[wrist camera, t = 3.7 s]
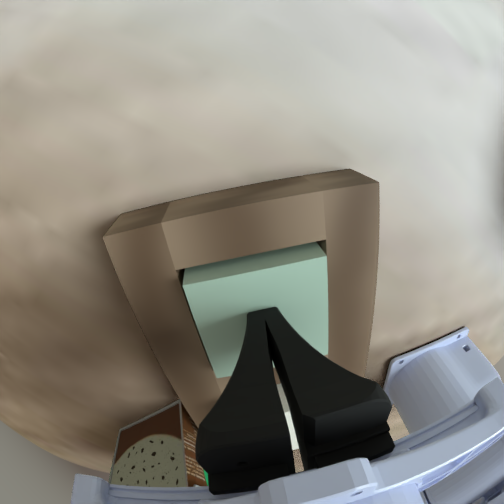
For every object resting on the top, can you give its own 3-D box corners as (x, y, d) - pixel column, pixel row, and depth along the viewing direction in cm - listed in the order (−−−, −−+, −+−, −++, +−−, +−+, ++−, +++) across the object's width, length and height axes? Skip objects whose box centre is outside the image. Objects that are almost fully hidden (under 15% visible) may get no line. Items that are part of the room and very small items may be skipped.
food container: (158, 454, 25) (157, 532, 16) (111, 432, 23) (100, 517, 14) (244, 419, 23) (260, 520, 14) (193, 391, 20) (196, 512, 12)
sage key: (309, 232, 14) (326, 255, 12) (314, 325, 17) (328, 354, 15) (186, 257, 14) (182, 285, 12) (215, 346, 17) (216, 378, 14)
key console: (350, 168, 14) (379, 182, 12) (343, 397, 23) (354, 423, 21) (121, 213, 14) (102, 237, 11) (213, 425, 23) (215, 453, 20)
